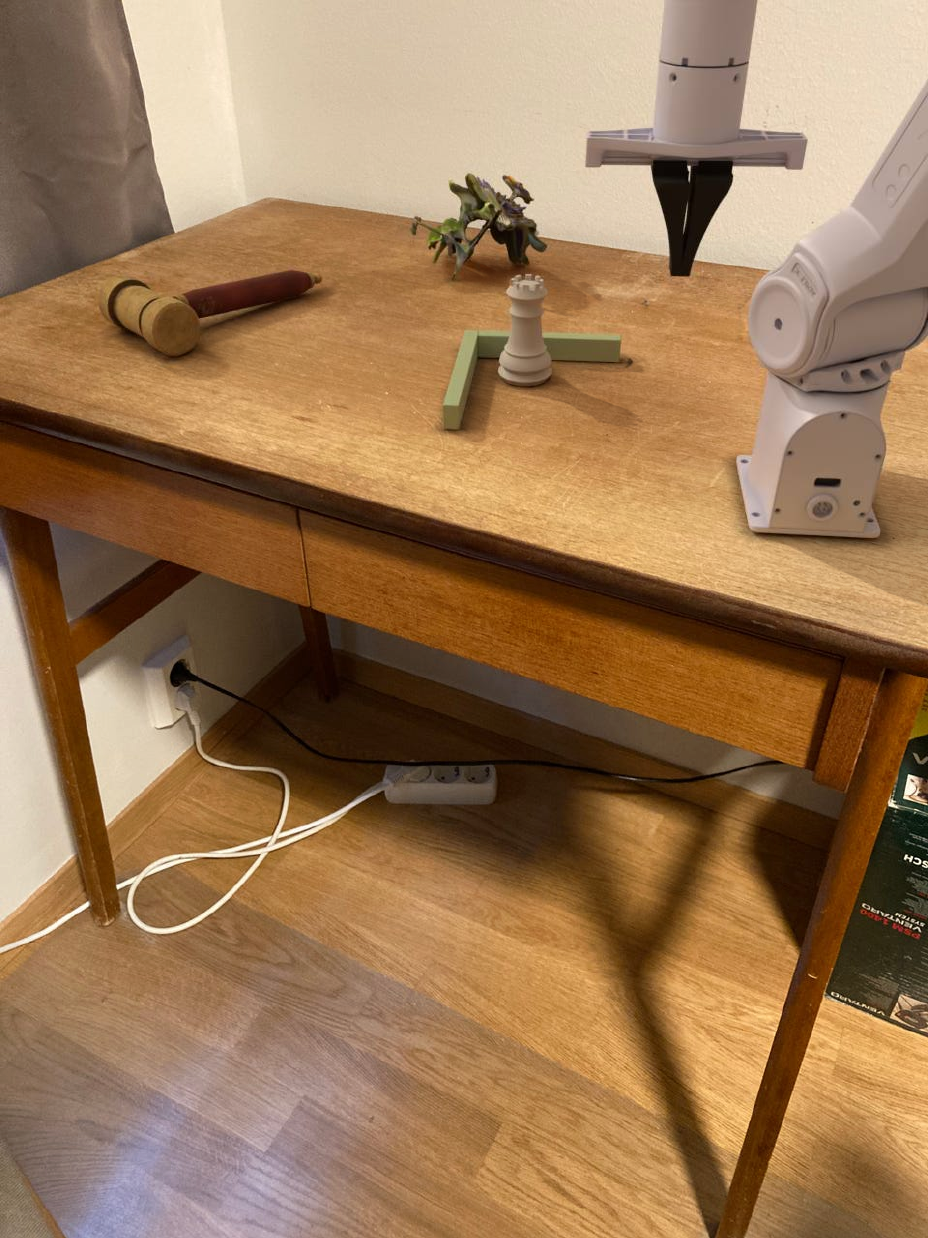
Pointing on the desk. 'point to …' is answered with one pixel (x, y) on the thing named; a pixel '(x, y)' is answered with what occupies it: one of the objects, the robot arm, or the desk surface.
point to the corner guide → (493, 346)
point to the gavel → (191, 305)
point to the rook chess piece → (525, 335)
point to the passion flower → (499, 218)
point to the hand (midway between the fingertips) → (679, 271)
